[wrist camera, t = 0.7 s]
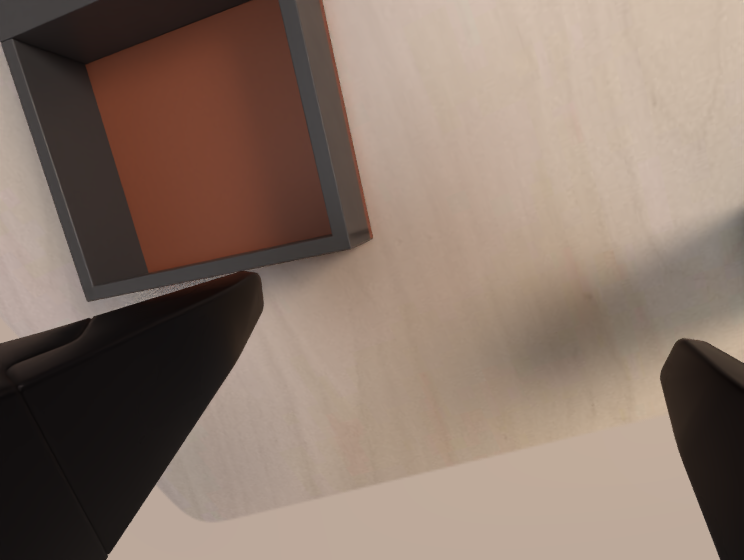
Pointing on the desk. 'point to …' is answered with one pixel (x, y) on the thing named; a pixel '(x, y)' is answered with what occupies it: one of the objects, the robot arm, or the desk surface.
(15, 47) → the toy kitchen
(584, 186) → the desk surface
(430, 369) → the desk surface
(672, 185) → the desk surface
